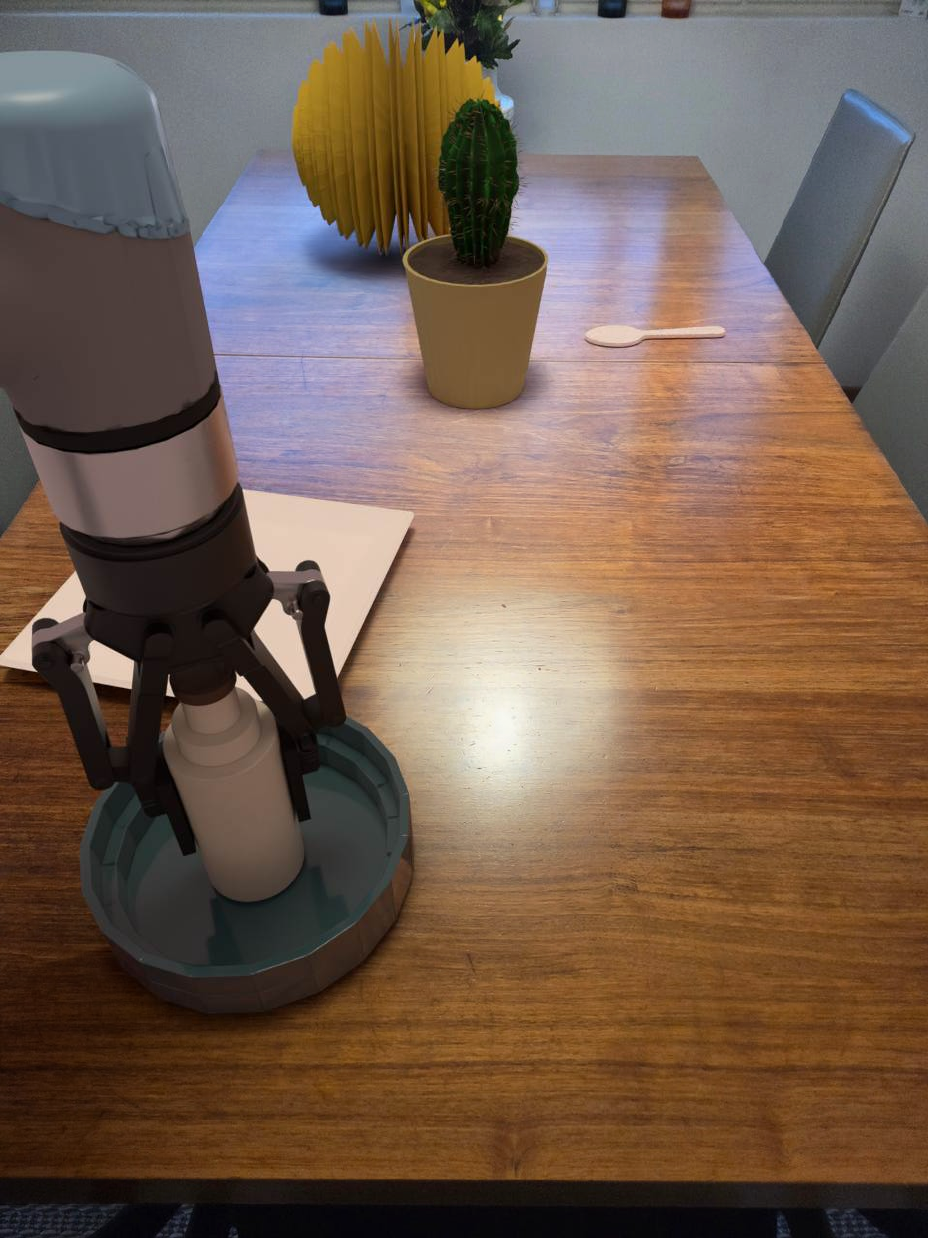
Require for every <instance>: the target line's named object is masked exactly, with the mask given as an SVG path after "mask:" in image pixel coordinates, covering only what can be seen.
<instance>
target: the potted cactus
mask: <svg viewBox="0 0 928 1238" xmlns="http://www.w3.org/2000/svg"><path fill="white" fill-rule="evenodd" d="M484 90H485V89H484ZM483 93H484V92H483ZM482 96H483V94H482ZM482 96H481V98H482ZM469 97H470V96H469ZM475 97H476V96H475ZM473 98H474V97H473ZM455 99H456V98H455ZM456 100H457V99H456ZM465 100H466V99H465ZM465 100H464V101H465ZM460 101H461V100H460ZM490 101H491V100H490ZM499 101H500V102H499V104H498V107H499V108H500V106H501V100H499ZM457 103H459V102H458V101H457ZM461 103H462V102H461ZM459 104H460V103H459ZM451 105H452V104H451ZM451 105H450V106H451ZM499 105H500V106H499ZM460 106H461V104H460ZM456 107H457V106H456ZM498 107H496V106H495V104H490V103H489V101H488V100H487V98H486V100H485V99H483V100H482V101H481V100H479V98H478V99H477V102H476V101H473V99H471V98H470V99H469V100H467V101H466V103H464V104H463V105H462V106H461V107H460V109H459V108H458V107H457V108H458V109H459V111H458V112H456V110H455V109H454V110H455V111H454V110H453V108H454V107H453V108H451V109H452V110H453V111H454V112H456V113H455V114H456V115H454V114H452V113H451V114H452V116H453V115H454V116H455V117H454V116H453V118H452V117H451V119H454V118H455V120H454V121H452V122H450V124H449V127H447V130H446V133H445V134H444V135H443V139H442V142H441V143H442V144H441V155H440V157H439V167H438V169H439V171H438V173H437V171H435V169H437V168H432V169H430V170H434V171H435V173H437V174H438V176H437V175H436V176H437V177H438V182H437V184H438V185H436V186H438V188H439V189H438V188H437V189H438V190H439V191H441V192H442V193H443V194H442V195H441V196H443V195H444V199H445V200H444V199H443V200H444V201H445V204H446V206H442V207H448V211H445V212H446V214H448V215H449V222H446V223H445V225H446V224H447V223H448V224H449V227H448V226H446V227H445V228H447V227H448V228H449V231H448V232H449V234H446V235H442V236H438V237H436V236H434V237H429V238H428V239H427V240H423V241H422V242H417V243H416V244H414V245H412V246H410V247H409V249H408V250H406V251H405V253H403V255H402V264H403V266H404V268H405V277H406V281H407V282H406V283H407V286H408V291H409V296H410V301H411V307H412V312H413V317H414V318H413V319H414V322H415V328H416V332H417V337H418V344H419V348H420V353H421V357H422V358H421V359H422V365H423V370H424V375H425V380H426V385H427V388H428V390H429V393H430V394H431V395H432V397H433V398H435V399H436V400H438V401H439V402H440V403H443V404H445V405H448V406H451V407H455V408H460V409H469V410H482V409H483V410H485V409H491V408H497V407H500V406H503V405H506V404H508V403H511V402H513V401H514V400H515V399H517V398H519V396H520V395H521V394H522V392H523V390H524V386H525V383H526V380H527V379H526V378H527V373H528V369H529V368H528V367H529V363H530V357H531V353H532V347H533V343H534V337H535V333H536V328H537V322H538V317H539V313H540V306H541V301H542V297H543V292H544V287H545V282H546V278H547V277H546V276H547V269H548V264H549V255H548V254H547V252H546V251H545V249H543V248H542V246H540V245H538V244H536V243H534V242H533V241H531V240H527V239H525V238H522V237H518V236H514V235H510V234H509V232H511V231H512V232H513V228H511V229H510V226H511V227H512V226H513V227H514V226H516V227H517V226H519V225H518V222H516V221H514V223H511V219H513V216H512V211H513V210H514V211H516V210H521V208H519V207H518V206H519V203H518V201H517V200H516V198H517V195H519V196H521V194H524V192H522V188H520V186H521V187H523V188H527V185H529V184H532V183H531V182H528V183H524V181H526V180H527V178H526V176H527V175H529V174H526V175H524V176H521V177H520V176H519V174H518V172H520V171H524V169H522V168H521V167H520V165H519V164H523V161H520V160H519V158H518V154H520V153H521V152H525V151H526V152H527V150H525V149H523V150H519V151H518V148H519V147H520V148H521V145H522V144H523V142H522V143H521V142H520V141H521V140H522V139H524V137H523V138H521V139H519V138H516V137H517V136H519V134H518V132H516V133H513V132H515V130H514V129H515V128H516V127H517V125H519V124H520V123H517V125H515V124H514V123H515V120H516V118H518V117H519V116H520V114H518V115H517V116H516V117H514V116H512V117H511V118H510V119H508V118H509V115H510V111H511V110H513V109H514V107H512V108H511V109H510V108H508V110H507V111H506V112H503V111H502V112H501V111H500V110H499V108H498ZM448 112H449V111H448ZM449 114H450V112H449ZM505 115H506V116H505ZM444 117H445V116H444ZM449 117H450V116H449ZM446 120H447V119H446ZM448 120H449V119H448ZM447 122H448V121H447ZM511 122H512V124H510V123H511ZM435 142H436V141H435ZM437 143H438V142H437ZM520 144H521V145H520ZM432 146H433V145H432ZM525 146H526V144H525V145H524V144H523V147H525ZM436 147H438V146H436ZM517 147H518V148H517ZM438 153H439V152H438ZM431 155H433V154H431ZM434 156H436V155H434ZM437 157H438V156H437ZM437 160H438V159H437ZM425 171H426V170H425ZM434 171H433V172H434ZM429 172H430V171H429ZM431 173H432V172H431ZM432 174H434V173H432ZM434 175H435V174H434ZM432 179H437V178H432ZM435 181H437V180H435ZM435 181H434V182H435ZM432 182H433V181H432ZM434 184H435V183H433V185H434ZM430 185H431V184H430ZM438 190H437V191H438ZM437 191H436V192H437ZM439 191H438V192H439ZM436 192H435V193H436ZM438 192H437V193H438ZM441 192H440V194H441ZM437 193H436V194H437ZM441 196H440V197H441ZM440 197H439V198H440ZM441 198H442V197H441ZM443 200H442V201H443ZM442 201H441V202H442ZM444 201H443V202H444ZM514 201H515V202H514ZM441 202H440V203H441ZM443 202H442V203H443ZM442 203H441V204H440V205H442ZM513 203H515V206H516V207H515V206H514V204H513ZM443 204H444V203H443ZM445 204H444V205H445ZM437 207H438V206H437ZM437 207H436V208H437ZM436 208H435V209H436ZM514 208H515V209H514ZM441 210H442V209H441ZM444 210H446V209H444ZM521 211H522V210H521ZM447 212H448V213H447ZM444 214H445V213H444ZM442 215H443V214H442ZM441 217H445V216H441ZM514 218H515V219H519V217H517V216H514ZM447 219H448V218H447ZM447 219H446V220H447ZM520 219H521V220H522V219H523V218H521V217H520ZM442 220H444V219H442ZM444 221H445V220H444ZM442 222H443V221H442ZM448 228H447V229H448ZM442 230H443V229H442Z"/></svg>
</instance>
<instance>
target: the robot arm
mask: <svg viewBox="0 0 928 1238" xmlns="http://www.w3.org/2000/svg"><path fill="white" fill-rule="evenodd" d="M168 141H169V140H168V138H167V132H166V130H165V125H164V121H163V117H162V114H161V109H160V105H159V101H158V99H157V97H156V95H155V93H154V91H153V90H152V88H151V87H150V86H149V85H148V84H147V83H146V82H145V81H144V80H143V79H142V77H140V76H139V74H138V73H137V72H136V71H135V70H134V69H132V68H131V67H129V66H128V65H126V64H125V63H122V62H120V61H119V60H117V59H114V58H112V57H108V56H105V55H101V54H96V53H90V52H83V51H82V52H80V51H72V50H70V51H69V50H21V51H19V50H18V51H6V52H4V51H3V52H0V389H3V390H4V392H5V394H6V395H7V398H8V400H9V401H10V403H11V404H12V409H13V411H14V414H15V418H16V420H17V423H18V427H19V429H20V431H21V434H22V436H23V439H24V441H25V444H26V447H27V449H28V452H29V455H30V457H31V460H32V462H33V466H34V468H35V470H36V473H37V475H38V478H39V480H40V483H41V485H42V488H43V491H44V494H45V496H46V499H47V501H48V504H49V506H50V509H51V512H52V513H53V514H54V516H55V517H56V519H57V520H58V521H59V524H58V525H59V530H60V534H61V536H62V539H63V541H64V544H65V547H66V549H67V551H68V555H69V557H70V559H71V562H72V564H73V565H72V566H73V567H74V569H75V570H74V571H76V573H77V575H78V578H79V580H80V583H81V585H82V588H83V591H84V593H85V596H86V597H85V600H84V603H83V613H81V614H78V615H76V616H74V617H72V618H70V619H68V620H65V621H63V622H61V623H59V622H57V621H56V620H54V619H51V618H42V619H38V620H37V621H35V622H34V623H33V625H32V666H33V668H34V669H35V670H36V671H37V672H36V673H38V674H39V675H40V677H42V678H43V679H44V680H45V681H46V682H47V683H48V684H49V685H50V686H51V687H52V688H53V689H54V690H55V691H56V693H57V695H58V699H59V701H60V704H61V707H62V710H63V712H64V716H65V719H66V721H67V724H68V727H69V730H70V733H71V735H72V739H73V741H74V744H75V747H76V750H77V753H78V756H79V759H80V761H81V764H82V767H83V770H84V773H85V777H86V779H87V782H88V784H89V786H90V788H91V789H92V790H95V791H104V790H106V789H109V788H110V787H112V786H113V785H114V783H115V782H126V783H129V784H131V785H132V786H133V787H134V789H135V791H136V794H137V796H138V799H139V801H140V803H141V806H142V808H143V811H144V813H145V814H146V815H147V816H149V817H150V818H153V817H157V816H161V815H164V814H167V816H168V819H169V821H170V824H171V826H172V829H173V831H174V834H175V836H176V839H177V842H178V844H179V847H180V849H181V852H182V854H183V856H187V855H190V854H194V853H197V852H196V845H195V839H194V836H193V833H192V830H191V827H190V825H189V822H188V819H187V817H186V814H185V811H184V808H183V806H182V803H181V800H180V798H179V795H178V792H177V789H176V787H175V784H174V781H173V779H172V776H171V773H170V771H169V768H168V765H167V762H166V760H165V757H164V753H163V747H160V748H158V744H159V735H160V734H161V726H162V718H163V710H164V702H165V697H167V695H166V693H167V685H168V677H169V674H172V673H177V672H181V671H184V670H186V669H188V668H190V667H193V666H195V665H197V664H208V663H218V662H222V661H226V660H227V661H228V663H229V664H230V665H231V666H232V668H233V669H234V670H235V671H236V673H237V674H238V675H239V676H240V677H242V676H243V677H244V678H245V679H246V680H247V682H248V683H249V684H250V685H251V687H252V688H253V689H254V690H255V692H256V693H257V694H258V696H259V697H260V698H261V699H262V701H263V702H264V703H265V704H266V706H267V707H268V708H269V709H270V711H271V712H272V713H273V714H274V716H275V720H276V724H277V729H278V733H279V738H280V743H281V747H282V752H283V756H284V761H285V765H286V770H287V774H288V778H289V783H290V787H291V792H292V796H293V801H294V805H295V809H296V813H297V817H298V821H299V822H303V821H306V820H310V819H311V815H310V810H309V805H308V800H307V795H306V790H305V785H304V781H303V776H302V775H305V774H309V773H312V772H316V771H318V770H319V767H320V765H321V764H320V759H319V753H318V746H319V743H318V739H317V736H316V734H317V732H318V731H319V730H320V729H321V728H323V727H325V726H326V725H327V726H328V727H333V728H334V727H338V726H341V725H342V724H343V723H345V721H346V717H348V716H347V712H346V708H345V704H344V701H343V697H342V692H341V688H340V684H339V679H338V677H337V675H336V671H335V667H334V663H333V659H332V655H331V651H330V647H329V643H328V639H327V634H326V630H325V622H326V617H327V613H328V608H329V603H330V594H329V591H328V589H327V586H326V584H325V581H324V578H323V576H322V573H321V570H320V568H319V565H318V564H317V563H316V562H315V561H312V560H305V561H303V562H301V563H299V564H298V565H297V567H296V569H295V571H269V569H268V567H267V566H266V565H265V563H263V562H262V561H261V560H260V559H259V558H258V557H257V555H256V552H255V547H254V543H253V538H252V533H251V528H250V523H249V519H248V514H247V509H246V504H245V499H244V495H243V490H242V489H243V487H242V485H241V483H240V482H239V474H240V470H239V465H238V460H237V455H236V450H235V446H234V442H233V436H232V432H231V427H230V426H231V425H230V422H229V417H228V416H229V415H228V412H227V407H226V402H225V397H224V393H223V392H224V391H223V388H222V385H221V383H220V379H219V374H218V367H217V363H216V357H215V352H214V348H213V347H214V346H213V341H212V337H211V332H210V327H209V321H208V316H207V309H206V305H205V300H204V293H203V289H202V285H201V279H200V273H199V268H198V263H197V257H196V253H195V247H194V243H193V237H192V233H191V226H190V216H188V213H187V211H186V207H185V204H184V199H183V196H182V192H181V188H180V184H179V179H178V176H177V173H176V169H175V164H174V161H173V157H172V153H171V149H170V144H169V142H168ZM272 599H276V600H278V601H280V602H281V605H282V608H283V611H284V612H285V613H286V614H287V615H290V616H292V618H293V619H294V620H296V624H297V628H298V631H299V635H300V639H301V642H302V646H303V649H304V653H305V657H306V660H307V664H308V668H309V671H310V675H311V679H312V682H313V686H314V690H315V693H316V694H314V695H312V696H310V697H308V698H306V699H304V698H303V697H302V695H301V694H300V693H299V691H298V690H297V689H296V687H295V686H294V684H293V683H292V682H291V680H290V679H289V678H288V676H287V675H286V674H285V672H284V671H283V669H282V668H281V667H280V665H279V664H278V663H277V661H276V660H275V658H274V657H273V656H272V654H271V653H270V652H269V650H268V649H267V648H266V646H265V645H264V643H263V642H262V641H261V639H260V638H259V637H258V635H257V634H256V632H255V630H254V628H255V626H256V624H257V623H258V621H259V620H260V618H261V616H262V615H263V613H264V612H265V610H266V608H267V607H268V605H269V604H270V602H271V600H272ZM93 640H95V641H97V642H99V643H101V644H102V645H104V646H106V647H108V648H110V649H112V650H114V651H116V652H118V653H120V654H121V655H123V656H125V657H127V658H129V659H131V660H133V661H134V668H133V679H132V689H130V690H131V692H130V701H129V711H128V712H129V713H128V725H127V736H124V738H125V745H122V746H121V745H120V746H119V745H118V746H113V744H112V741H111V737H110V735H109V731H108V728H107V725H106V722H105V718H104V714H103V711H102V709H101V705H100V701H99V698H98V695H97V692H96V689H95V685H94V682H92V679H91V676H90V672H89V669H88V666H87V663H88V662H89V660H90V643H91V642H92V641H93Z"/></svg>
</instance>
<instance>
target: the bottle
mask: <svg viewBox="0 0 928 1238" xmlns="http://www.w3.org/2000/svg"><path fill="white" fill-rule="evenodd" d="M236 681H237V675H236V671H235V670H234V669H233V668H232V666H231V665H230V664H229V663H228V661H227V660H226V661H222V662H218V663H208V664H197V665H195V666H193V667H190V668H188V669H186V670H184V671H181V672H177V673H172V674H170V675H169V683H170V686H171V689H172V692H173V694H174V696H175V697H174V698H175V699H177V701H179V703H178V705H177V706H176V707H175V710H174V711H173V714H172V716H171V722H170V723H169V725H168V727H167V729H165V731H166V732H165V731H164V732H165V735H164V739H163V753H164V757H165V760H166V762H167V765H168V768H169V771H170V773H171V776H172V779H173V781H174V784H175V787H176V789H177V792H178V795H179V798H180V800H181V803H182V806H183V808H184V811H185V814H186V817H187V819H188V822H189V825H190V827H191V830H192V833H193V836H194V838H195V841H196V844H197V846H198V849H199V852H200V855H201V857H202V860H203V863H204V865H205V868H206V871H207V874H208V876H209V879H210V881H211V883H212V885H213V886H214V888H215V889H216V890H217V891H218V892H220V893H221V894H222V895H224V896H226V897H227V898H230V899H233V900H236V901H243V902H253V901H260V900H264V899H267V898H269V897H272V896H274V895H276V894H278V893H279V892H281V891H282V890H284V889H285V888H286V887H287V886H289V884H290V883H291V882H292V881H293V880H294V879H295V878H296V876H297V875H298V873H299V871H300V869H301V867H302V864H303V860H304V845H303V840H302V836H301V831H300V827H299V823H298V818H297V814H296V809H295V805H294V801H293V796H292V792H291V787H290V783H289V778H288V774H287V770H286V765H285V761H284V756H283V752H282V747H281V743H280V738H279V733H278V729H277V724H276V720H275V717H274V715H273V713H272V712H271V711H270V709H269V708H268V707H267V706H266V705H265V704H263V703H262V702H260V701H259V700H257V699H255V698H253V697H252V696H251V695H250V694H249V693H248V692H246V691H245V690H243V689H241V688H239V687H235V684H236Z"/></svg>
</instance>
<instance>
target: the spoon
mask: <svg viewBox="0 0 928 1238" xmlns="http://www.w3.org/2000/svg"><path fill="white" fill-rule="evenodd" d="M725 335H726V329H725V327H723V326H721V325H720V326H719V325H707V326H693V327H692V326H688V327H678V328H677V327H676V328H666V329H665V328H664V329H663V328H660V329H659V328H657V329H649V330H648V329H646V330H644V329H639V328H637V327H633V326H630V325H624V324H608V325H602V326H598V327H593V328H591V329H588V330H587V331H586V332H585V334H584V339H585V340H586V341H587V342H589V343H591V344H593V345H598V346H604V347H616V348H617V347H621V348H622V347H630V346H634V345H637V344H640V343H641V342H642V341H644V340H645V339H687V338H690V339H692V338H697V339H698V338H721V337H724V336H725Z"/></svg>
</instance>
